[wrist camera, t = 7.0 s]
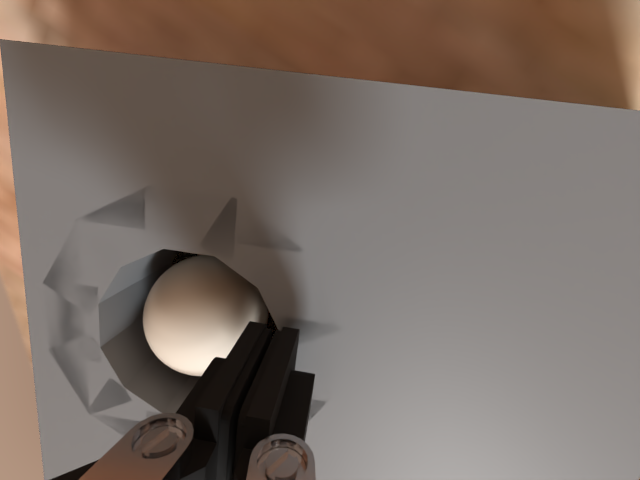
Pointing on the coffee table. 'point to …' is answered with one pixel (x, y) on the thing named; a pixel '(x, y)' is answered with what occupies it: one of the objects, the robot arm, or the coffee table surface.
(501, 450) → the grey flat block
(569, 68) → the coffee table surface
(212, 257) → the ball
